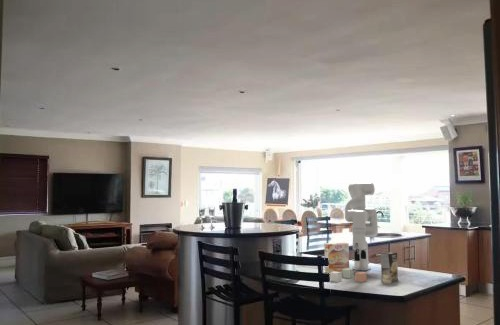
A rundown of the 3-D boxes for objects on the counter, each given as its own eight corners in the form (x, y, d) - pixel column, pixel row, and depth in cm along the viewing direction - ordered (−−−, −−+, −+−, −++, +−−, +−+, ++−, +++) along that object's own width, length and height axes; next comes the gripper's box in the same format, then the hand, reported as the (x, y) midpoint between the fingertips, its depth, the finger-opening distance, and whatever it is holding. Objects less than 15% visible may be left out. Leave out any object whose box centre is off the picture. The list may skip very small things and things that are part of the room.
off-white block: (334, 279, 260) (333, 271, 260) (341, 280, 257) (341, 272, 257) (330, 281, 256) (330, 272, 256) (338, 281, 253) (337, 273, 253)
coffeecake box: (328, 274, 278) (327, 244, 280) (324, 272, 285) (323, 243, 286) (350, 273, 281) (348, 243, 282) (345, 271, 288) (344, 242, 289)
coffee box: (391, 281, 251) (390, 254, 253) (381, 280, 256) (380, 253, 257) (398, 279, 258) (397, 252, 259) (388, 277, 262) (387, 251, 264)
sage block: (345, 275, 271) (345, 268, 272) (353, 276, 268) (352, 268, 269) (342, 277, 267) (342, 269, 268) (350, 278, 264) (349, 269, 265)
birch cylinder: (384, 281, 250) (383, 273, 251) (392, 282, 247) (392, 274, 248) (381, 283, 246) (380, 274, 247) (389, 284, 243) (389, 275, 244)
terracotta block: (358, 280, 258) (358, 271, 258) (366, 280, 255) (366, 272, 255) (355, 281, 254) (355, 272, 254) (363, 282, 251) (363, 273, 251)
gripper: (359, 230, 266) (360, 257, 264) (347, 232, 252) (348, 261, 250) (370, 230, 261) (371, 258, 260) (359, 232, 247) (360, 262, 246)
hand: (360, 259), depth 255 cm, fingers open, 9 cm apart
